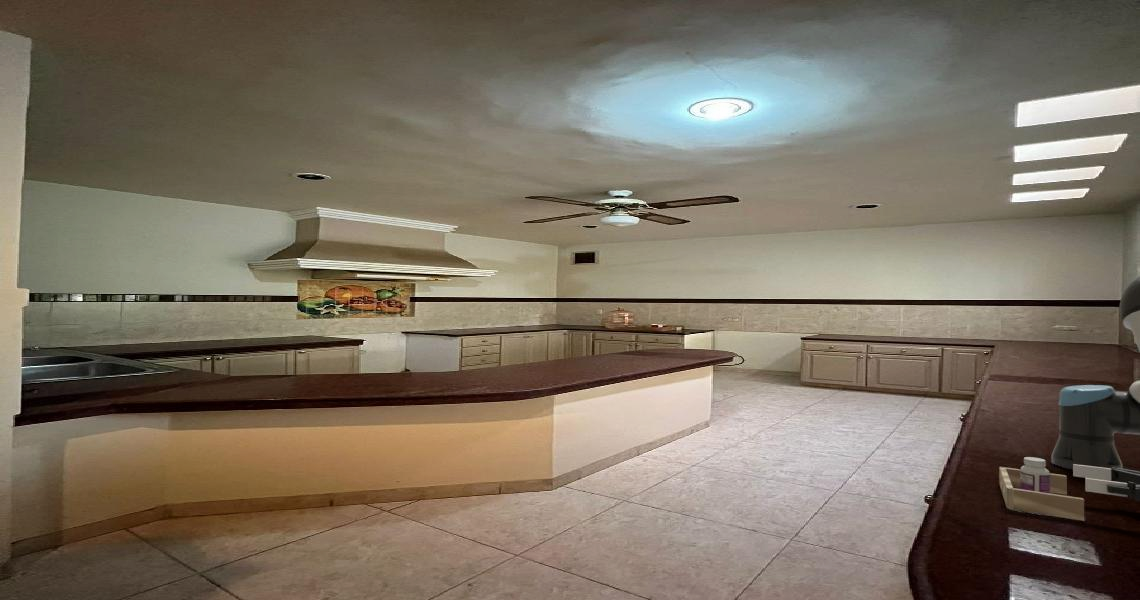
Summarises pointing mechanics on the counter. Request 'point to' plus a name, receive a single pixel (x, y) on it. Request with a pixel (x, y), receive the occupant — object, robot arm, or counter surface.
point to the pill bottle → (1035, 475)
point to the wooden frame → (1040, 496)
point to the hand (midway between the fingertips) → (1078, 476)
